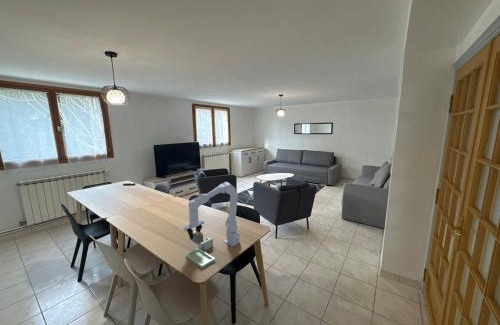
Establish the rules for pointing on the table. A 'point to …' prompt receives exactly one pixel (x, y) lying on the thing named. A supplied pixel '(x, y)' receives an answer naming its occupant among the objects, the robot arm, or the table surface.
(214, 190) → the robot arm
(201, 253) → the tray
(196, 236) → the grey block yellow label
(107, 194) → the table surface
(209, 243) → the bay
